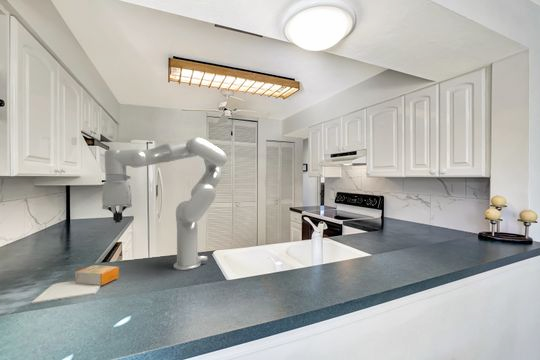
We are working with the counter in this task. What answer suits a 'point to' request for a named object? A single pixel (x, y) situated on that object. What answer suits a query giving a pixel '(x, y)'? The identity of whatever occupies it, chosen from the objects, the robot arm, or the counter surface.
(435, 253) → the counter surface
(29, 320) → the counter surface
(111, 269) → the supplement box
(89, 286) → the mat
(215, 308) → the counter surface
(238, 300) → the counter surface
